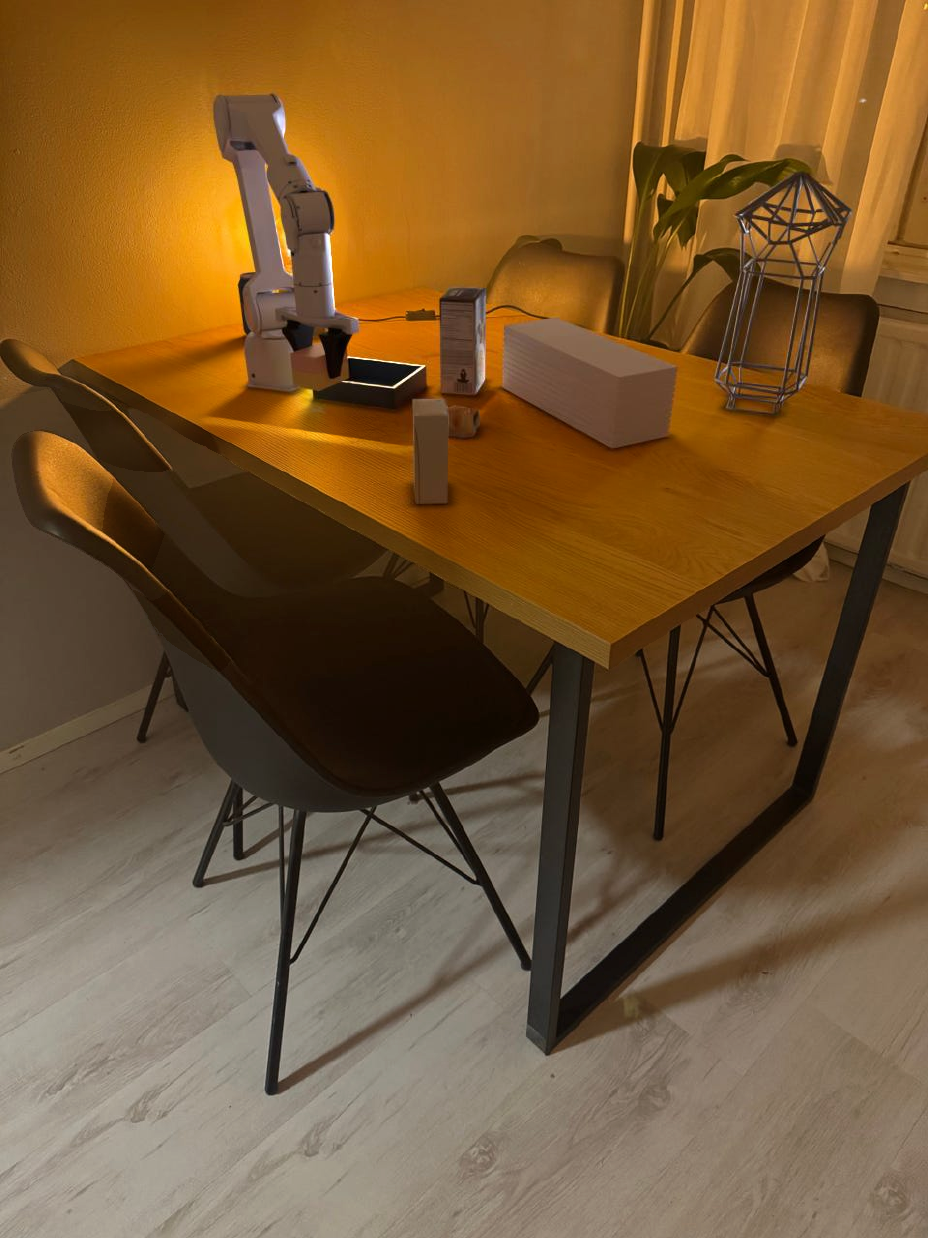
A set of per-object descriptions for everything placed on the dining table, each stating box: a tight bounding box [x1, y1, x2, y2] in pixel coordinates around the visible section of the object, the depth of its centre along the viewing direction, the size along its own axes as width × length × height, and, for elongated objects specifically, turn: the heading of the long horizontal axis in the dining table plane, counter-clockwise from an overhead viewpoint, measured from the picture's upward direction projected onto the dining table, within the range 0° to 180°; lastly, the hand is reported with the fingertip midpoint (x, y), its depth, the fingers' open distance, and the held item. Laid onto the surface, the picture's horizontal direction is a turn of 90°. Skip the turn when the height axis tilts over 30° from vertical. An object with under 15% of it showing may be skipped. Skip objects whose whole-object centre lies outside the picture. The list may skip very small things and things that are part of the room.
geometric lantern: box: [713, 170, 853, 416], centre depth 136 cm, size 16×16×35 cm
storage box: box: [312, 355, 428, 411], centre depth 149 cm, size 15×13×4 cm
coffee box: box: [438, 286, 487, 396], centre depth 149 cm, size 9×6×16 cm
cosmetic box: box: [412, 397, 449, 505], centre depth 112 cm, size 6×4×12 cm
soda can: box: [237, 271, 275, 336], centre depth 177 cm, size 7×7×12 cm
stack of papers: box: [501, 317, 679, 449], centre depth 140 cm, size 32×11×11 cm, turn 29°
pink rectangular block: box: [290, 341, 349, 391], centre depth 135 cm, size 5×8×5 cm, turn 149°
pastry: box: [447, 405, 482, 439], centre depth 135 cm, size 9×7×4 cm
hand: (321, 374), depth 136 cm, fingers closed on pink rectangular block, 5 cm apart
